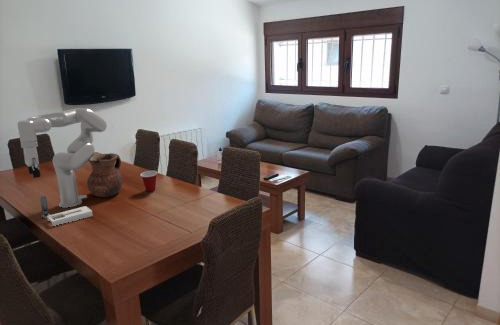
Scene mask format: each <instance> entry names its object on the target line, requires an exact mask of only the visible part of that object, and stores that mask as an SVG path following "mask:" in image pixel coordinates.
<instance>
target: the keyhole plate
mask: <svg viewBox="0 0 500 325" xmlns="http://www.w3.org/2000/svg"><path fill="white" fill-rule="evenodd" d="M93 215H94V214H93V210H92V209H91V208H89V207H88V206H86V205H85V206H84V205H83V206H81V207H77V208H72V209H70V210H65V211H62V212H58V213H54V214H51V215H49V216H47V218H46V219H47V222H48V221H50V222H51V225H52V227H53V226H55V227H57V226H56V225H58V226H60V225H59V224H62V225H64V224H63V223H66V224H69V223H72V221H73V222H75V221H80V220H83V218H84V219H87V218H90V217H93ZM54 219H55V220H54ZM79 219H80V220H79ZM68 222H69V223H68Z"/></svg>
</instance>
